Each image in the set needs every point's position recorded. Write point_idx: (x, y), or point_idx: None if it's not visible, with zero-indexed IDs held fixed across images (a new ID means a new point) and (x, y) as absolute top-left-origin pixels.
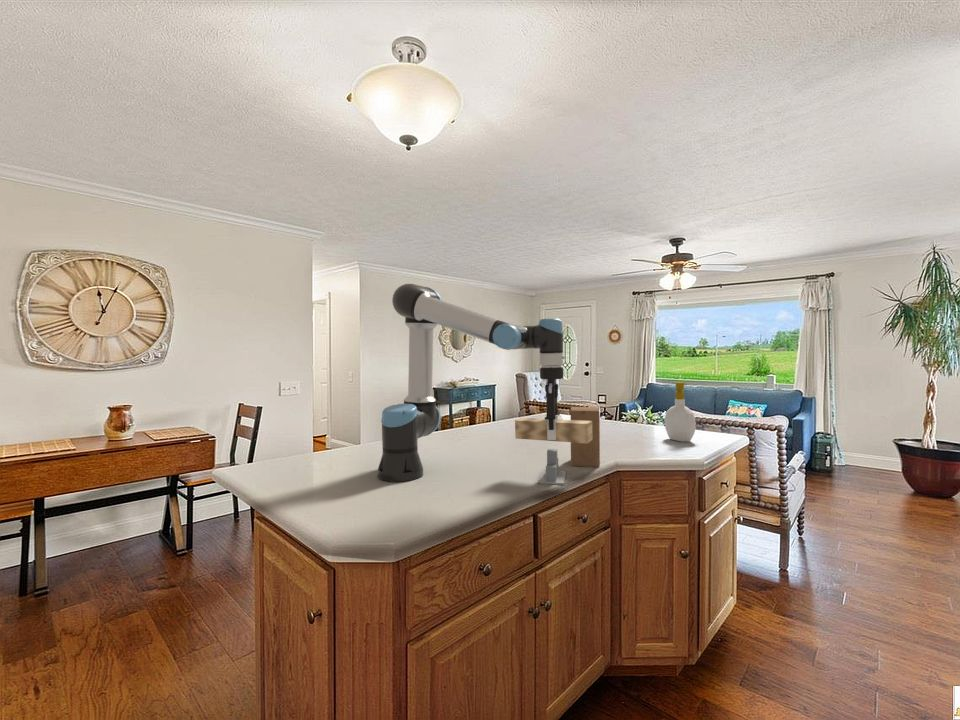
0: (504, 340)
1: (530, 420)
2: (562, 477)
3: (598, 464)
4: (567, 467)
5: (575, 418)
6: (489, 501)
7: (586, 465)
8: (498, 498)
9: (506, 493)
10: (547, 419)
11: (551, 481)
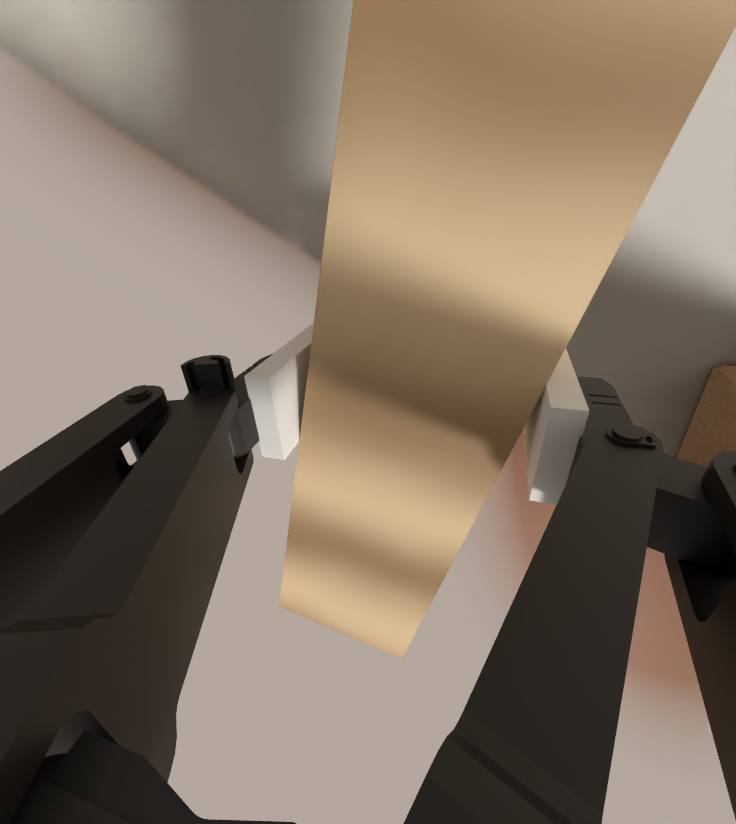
0: None
1: (415, 87)
2: None
3: None
4: (684, 343)
5: None
6: (73, 24)
7: (685, 436)
8: (119, 58)
9: (186, 77)
10: (247, 381)
11: None
